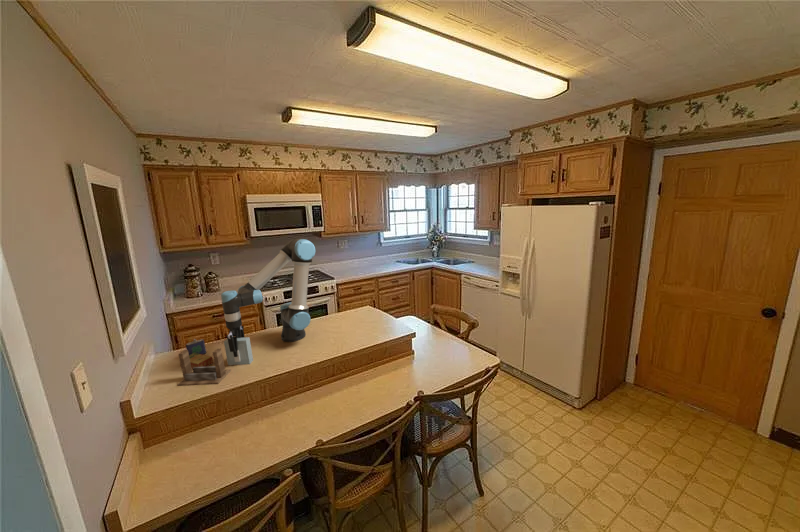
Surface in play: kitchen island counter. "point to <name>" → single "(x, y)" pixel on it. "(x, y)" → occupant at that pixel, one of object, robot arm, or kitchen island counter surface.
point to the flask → (196, 347)
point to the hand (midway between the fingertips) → (240, 359)
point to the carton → (200, 360)
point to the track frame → (202, 370)
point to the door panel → (240, 352)
